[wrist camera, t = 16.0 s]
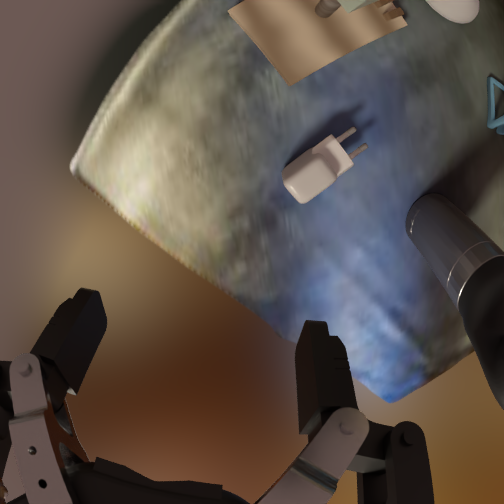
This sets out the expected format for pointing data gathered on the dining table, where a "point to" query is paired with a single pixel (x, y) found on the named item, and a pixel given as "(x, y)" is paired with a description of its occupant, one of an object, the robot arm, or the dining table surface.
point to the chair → (501, 122)
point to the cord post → (312, 31)
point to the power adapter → (319, 167)
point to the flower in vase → (456, 9)
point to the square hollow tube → (354, 4)
